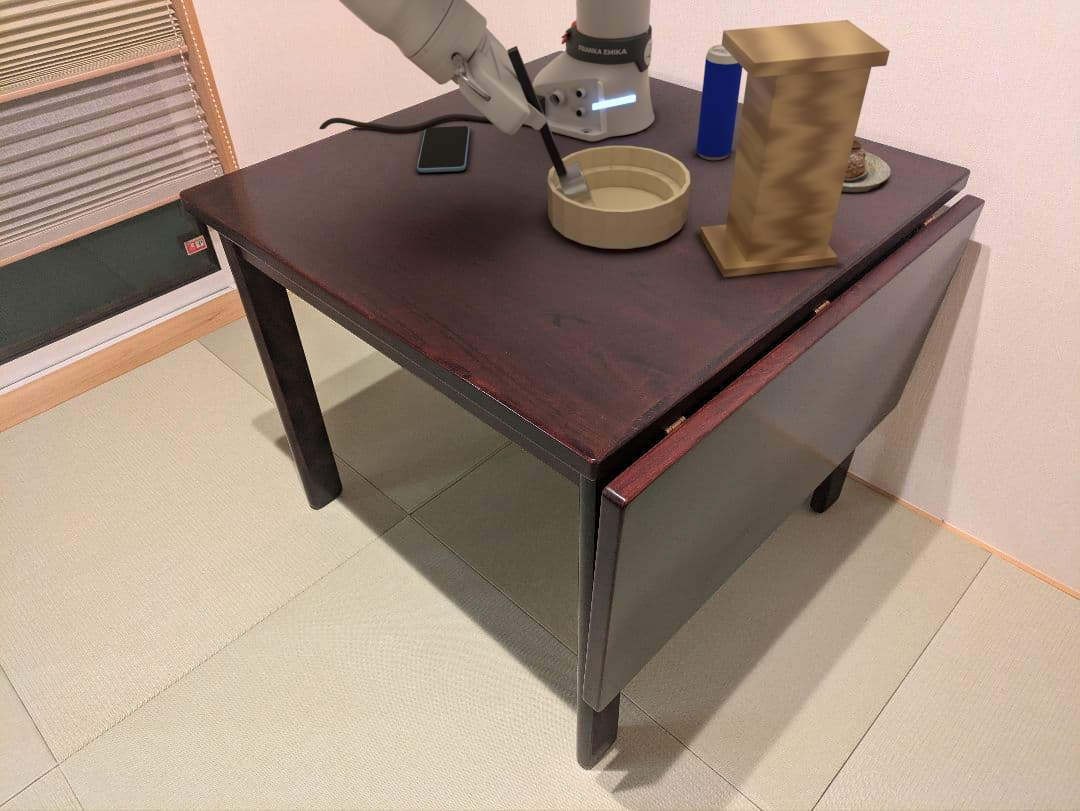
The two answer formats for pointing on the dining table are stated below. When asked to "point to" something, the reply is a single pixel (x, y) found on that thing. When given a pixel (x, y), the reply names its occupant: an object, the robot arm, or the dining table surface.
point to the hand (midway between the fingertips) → (540, 118)
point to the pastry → (864, 170)
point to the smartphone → (444, 149)
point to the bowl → (622, 198)
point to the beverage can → (718, 104)
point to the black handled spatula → (553, 141)
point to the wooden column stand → (792, 143)
